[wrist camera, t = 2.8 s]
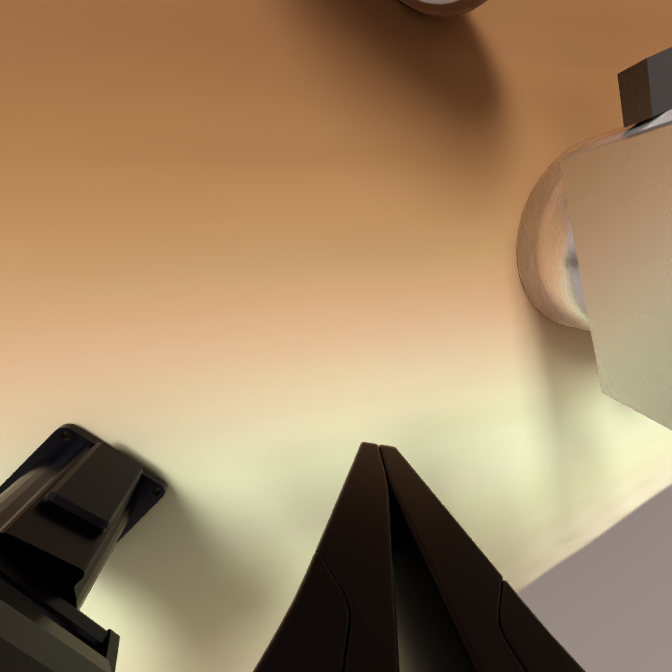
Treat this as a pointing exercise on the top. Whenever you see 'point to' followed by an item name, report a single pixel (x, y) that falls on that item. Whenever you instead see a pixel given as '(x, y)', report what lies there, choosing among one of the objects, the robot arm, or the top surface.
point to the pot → (551, 206)
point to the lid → (627, 263)
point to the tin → (444, 6)
